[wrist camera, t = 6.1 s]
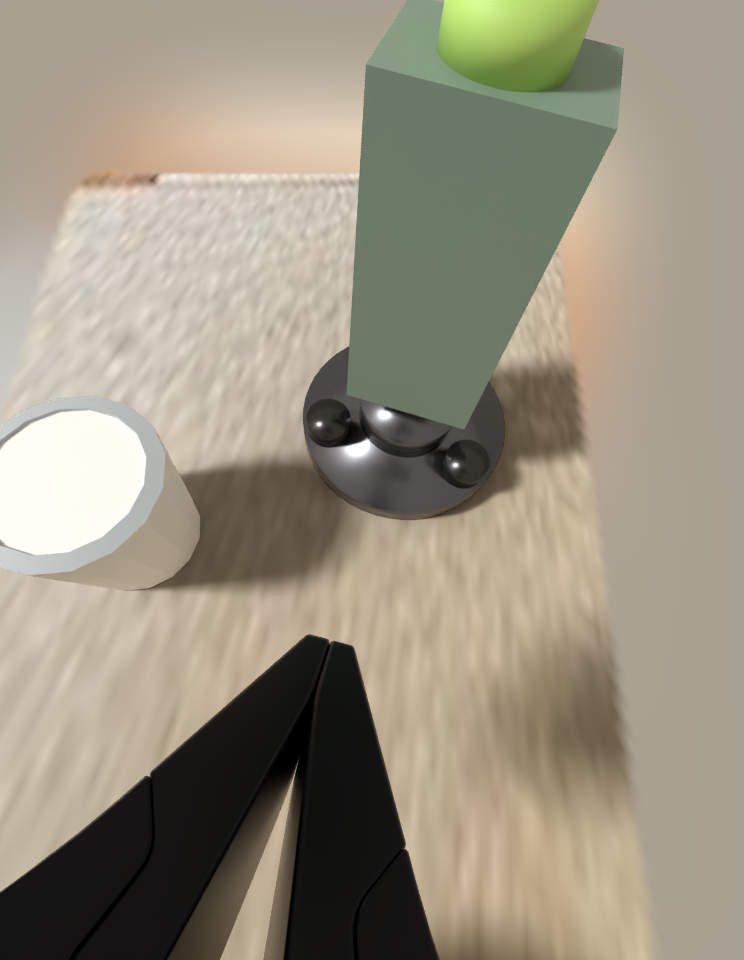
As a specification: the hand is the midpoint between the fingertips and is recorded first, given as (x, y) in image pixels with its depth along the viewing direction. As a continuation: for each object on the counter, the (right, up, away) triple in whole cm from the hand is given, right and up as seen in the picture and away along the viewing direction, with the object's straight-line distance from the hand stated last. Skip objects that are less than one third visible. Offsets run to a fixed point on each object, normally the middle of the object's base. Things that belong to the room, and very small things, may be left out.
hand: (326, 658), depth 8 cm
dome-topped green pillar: (+3, +8, +15) cm, 17 cm away
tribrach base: (+3, +6, +18) cm, 19 cm away
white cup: (-11, +1, +14) cm, 18 cm away
